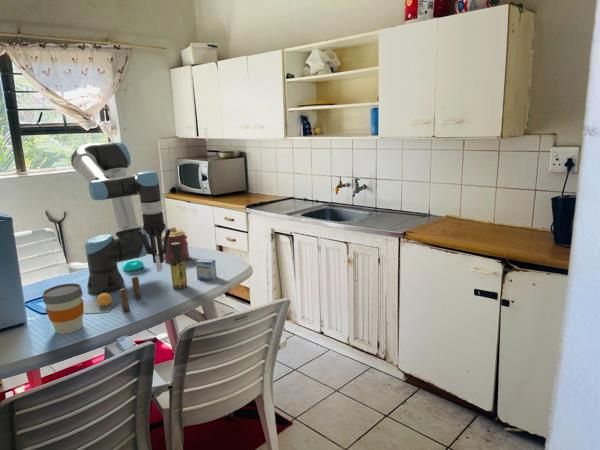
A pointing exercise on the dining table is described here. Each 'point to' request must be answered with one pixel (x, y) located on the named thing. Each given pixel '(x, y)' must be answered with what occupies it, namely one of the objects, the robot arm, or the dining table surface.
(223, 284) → the dining table surface
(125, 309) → the post
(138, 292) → the post
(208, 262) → the medicine box
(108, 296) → the ball
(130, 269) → the donuts
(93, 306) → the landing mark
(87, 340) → the dining table surface
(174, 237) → the canister
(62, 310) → the reusable coffee cup
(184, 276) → the sauce bottle
